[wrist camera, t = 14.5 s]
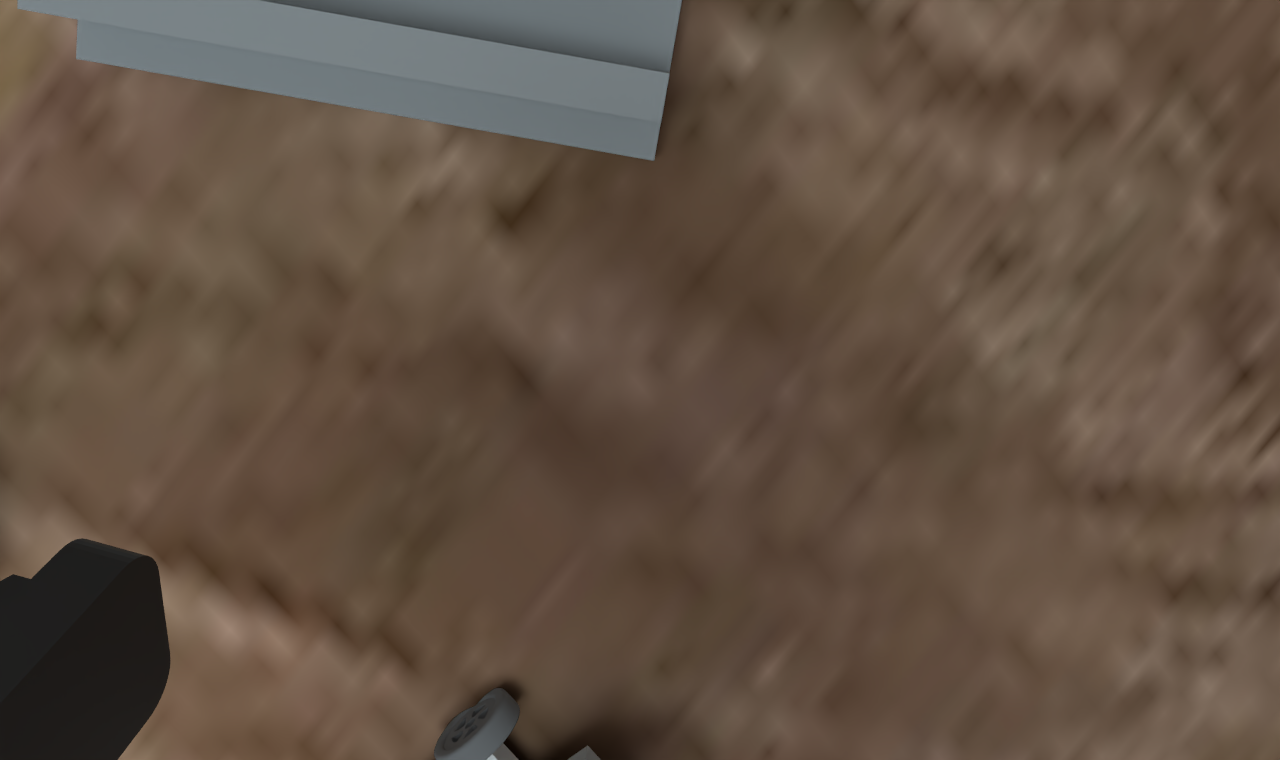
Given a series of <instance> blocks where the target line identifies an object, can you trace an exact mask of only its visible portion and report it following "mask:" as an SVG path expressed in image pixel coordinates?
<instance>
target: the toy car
mask: <svg viewBox="0 0 1280 760" xmlns="http://www.w3.org/2000/svg"><path fill="white" fill-rule="evenodd" d="M519 713H520V708H519V705H518V704H517V702H516V701H515V700H514V699H513V698H512V697H511V696H510V695H509V694H508V693H507V692H506V691H505V690H504V689H502V688H495V689H493V690H492V691H490V692H489V693H487V694H486V695H485V696H484V697H483V698H482V699H481V700H480V701H479V702H478V704H477V705H475V706H474V707H471V708H469V709H467V710H465V711H463V712H461V713H460V714H459V715H457V716H456V717H455V718H454V719H453V720H452V721H451V722H450V723H449V724H448V726H447V727H446V728H445V730H444V731H443V733H442V734H441V736H440V738H439V739H438V741H437V744H436V746H435V750H434V756H435V759H436V760H518V759H517V757H516V756H515V755H514V754H513V753H512V752H511V751H510V750H509V749H508V748H507V747H506V746H505V745H504V744H503V742H504V741H505V740H506V738H507V737H508V736H509V734H510V733H511V731H512V730H513V728H514V726H515V724H516V722H517V720H518V717H519ZM568 760H601V759H600V758H599V757H598V756H597V755H596V754H595V753H594V752H593V751H592V750H591V749H590V747H589V746H586V747H585V748H583V749H582V750H580V751H579V752H578V753H576V754H575V755H573V756H572V757H570V758H569V759H568Z"/></svg>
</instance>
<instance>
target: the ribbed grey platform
mask: <svg viewBox="0 0 1280 760" xmlns="http://www.w3.org/2000/svg"><path fill="white" fill-rule="evenodd" d="M681 2H682V0H18V9H22V10H28V11H33V12H39V13H45V14H50V15H56V16H62V17H67V18H73V19H78V26H77V53H76V59H80V60H86V61H92V62H97V63H103V64H109V65H114V66H120V67H126V68H131V69H137V70H143V71H148V72H154V73H160V74H165V75H171V76H177V77H182V78H188V79H194V80H199V81H205V82H211V83H216V84H222V85H228V86H233V87H239V88H245V89H250V90H256V91H262V92H267V93H273V94H279V95H284V96H290V97H296V98H301V99H307V100H313V101H318V102H324V103H330V104H335V105H341V106H347V107H352V108H358V109H364V110H369V111H375V112H381V113H386V114H392V115H398V116H403V117H409V118H415V119H420V120H426V121H432V122H437V123H443V124H449V125H454V126H460V127H466V128H471V129H477V130H483V131H488V132H494V133H500V134H505V135H511V136H517V137H522V138H528V139H534V140H539V141H545V142H551V143H556V144H562V145H568V146H573V147H579V148H585V149H590V150H596V151H602V152H607V153H613V154H618V155H624V156H630V157H635V158H641V159H647V160H652V161H654V158H655V153H656V147H657V141H658V135H659V130H660V124H661V120H662V114H663V108H664V103H665V97H666V91H667V85H668V80H669V74H670V73H669V72H670V66H671V60H672V54H673V49H674V43H675V37H676V31H677V25H678V20H679V14H680V8H681Z"/></svg>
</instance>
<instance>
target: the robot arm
mask: <svg viewBox="0 0 1280 760" xmlns="http://www.w3.org/2000/svg"><path fill="white" fill-rule="evenodd" d="M169 669H170V650H169V643H168V635H167V628H166V621H165V613H164V606H163V599H162V591H161V584H160V576H159V570H158V566H157V564H156V562H155V561H154V559H153V558H151V557H149V556H146V555H142V554H138V553H135V552H131V551H128V550H124V549H120V548H117V547H113V546H110V545H106V544H102V543H99V542H95V541H91V540H88V539H77V540H74V541H72V542H70V543H69V544H67V545H66V546H64V547H63V548H62V549H61V550H60V551H59V552H58V553H57V554H56V555H55V556H54V557H53V558H52V559H51V560H50V561H49V562H48V563H47V564H46V565H45V566H44V567H43V568H42V569H41V570H40V571H39V572H38V573H37V574H36V575H35V576H34V577H33V578H32V579H28V578H24V577H21V576H17V575H14V574H13V575H11V576H9V577H7V578H5V579H4V580H2V581H0V760H118V758H119V757H120V756H121V754H122V753H123V752H124V750H125V749H126V748H127V746H128V745H129V744H130V743H131V741H132V740H133V739H134V737H135V736H136V735H137V733H138V732H139V731H140V729H141V728H142V727H143V725H144V724H145V723H146V722H147V720H148V719H149V717H150V716H151V715H152V713H153V711H154V710H155V708H156V706H157V704H158V702H159V700H160V698H161V696H162V694H163V691H164V688H165V686H166V683H167V679H168V675H169Z"/></svg>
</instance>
